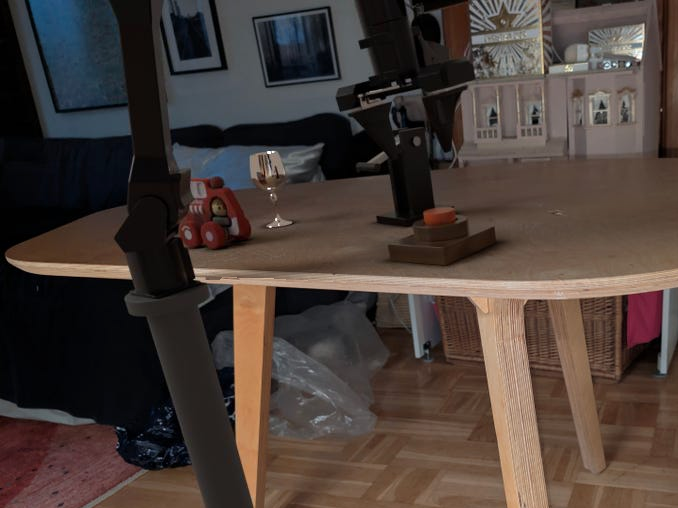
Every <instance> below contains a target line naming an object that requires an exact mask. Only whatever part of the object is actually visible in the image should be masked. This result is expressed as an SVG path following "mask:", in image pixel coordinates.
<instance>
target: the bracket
mask: <svg viewBox="0 0 678 508" xmlns="http://www.w3.org/2000/svg"><path fill="white" fill-rule="evenodd" d="M392 130H393V134H394V137H395V136H396V135H398V134H399V140H400V147H401V153H398V152H397V153H398V159H396V160H394V161H391V160H390V159H389V158H388V159H387V160H386V161H387V167H388V173H389V180H390V188H391V193H392V199H393V200H392V201H393V206H394V210H392V211H387V212H383V213H380V214H377V215H375V218H376V224H383V225H391V226H399V227H406V228H407V227H410V226H413V224H414V223H415V222H416V221H419V220H422V219H424V215H423V212H424V211H426V210H429V209H434V208H441V207H451V208H454V209H455V206H454V205H449V204H436V203H435V197H434V189H433V182H432V174H431V168H430V167H431V166H430V159H429V151H428V143H427V136H426V128H425V126H422V127H421V126H420V127H414V128H410V127H401V128H395V129H392ZM455 210H456V209H455Z"/></svg>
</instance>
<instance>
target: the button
mask: <svg viewBox="0 0 678 508" xmlns="http://www.w3.org/2000/svg"><path fill="white" fill-rule="evenodd" d="M454 208H455V207H454ZM454 208H451V207H441V208H434V209H429V210H426V211H424V212H423V215H424V222H425V225H442V224H447V223H452V222H455V221H456V216H455V215H456V209H454Z"/></svg>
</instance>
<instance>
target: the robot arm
mask: <svg viewBox="0 0 678 508" xmlns="http://www.w3.org/2000/svg"><path fill="white" fill-rule="evenodd" d="M107 1H108V3H109V5H110V8H111V10H112V13H113V15H114V18H115V20H116V24H117V28H118V29H117V30H118V39H119V46H120V54H121V55H120V56H121V62H122V72H123V78H124V87H125V94H126V104H127V111H128V119H129V127H130V135H131V142H132V144H131V145H132V152H133V154H132V162H131V166H130V171H129V175H128V181H127V182H128V183H127V198H126V212H127V217H126V219H124V221H123V223H122V224H121V226H120V227H119V228H118V230H117V231H116V234H115V235H114V236H113V240H114V242H116V244H117V245H118V247H119V248H120V249H121V251H122V252H123V254H124V258H125V261H126V264H127V267H128V270H129V274H130V277H131V280H132V283H133V286H134V289H132V290H129V293H130V295H133V296H139V297H145V298H151V299H160V298H163V297H166V296H169V295H172V294H175V293H178V292H181V291H184V290H187V289H190V288H193V287H196V286H199V285H201V282H202V281H201V280H199V279H198V280H197V279H196V273H195V270H194V266H193V262H192V258H191V254H190V251H189V249H188V248H187V247H186V246H185V243H184V242H183V240H182V238H181V236H179V237H178V236H177V235H178V234H180V225H181V224H180V223H181V222H182V221H183V219H185V218H186V215H187V213H188V210H189V204H190V203H192V202H193V201H194V200H195V199H194V197H193V195H192V193H191V188H190V180H191V178H192V169H191V168H190V167H186V168H185V167H184V168H180V167H179V165H178V163H177V160H176V158H175V155H174V152H173V146H172V138H171V127H170V126H171V125H170V117H169V109H168V99H167V98H168V97H167V90H166V79H165V72H164V71H165V70H164V69H165V68H164V61H163V52H162V42H161V32H160V24H161V23H160V22H161V18H162V13H163V8H164V3H165V0H107ZM353 1H354V4H355V8H356V12H357V15H358V19H359V23H360V26H361V30H362V33H363V37H364V38H361V39H359V40H357V42H358V46H359V49H360V50H361V51H362V50H366V49H367V52H368V55H369V59H370V62H371V66H372V69H373V73H374V75H370V76H368V77H367V79H368V80H364V81H360V82H356V83H353V84H349V85H345V86H342V87H337V90H336V94H335V101H336V105H337V107H338V111H339V113H341V112H347V111H350V112H348V113H346V114H347V117H348V118H352V119H353V120H355V121H356V122H357V123H358V124H359V126H360V127H361V128H362V129H363V130H364V131H365V132H366V133H367V134H368V135H369V136H370V137H371V139H372V140H373V141H374V142H375V143H376V144H377V145H378V147H379V149H381V150H382V152H383V151H384V153H385V154H386V155H387V156H388V157H389V159H390V160H391V161H394V160H396V159H398V153H397V147H396V143H395V138H394V134H393V130H394V129H393V126H392V123H391V118H390V114H391V109H392V105H393V101H386V102H382V101H385V100H386V99H387V97H391V96H394V95H395V96H396V95H399V94H403V93H408V92H413V91H416V90H423V91H424V92H425V93H431V94H429V95H426V96H423V97H421V98H420V99H421V101H422V104H423V106H424V109H425V112H426V114H427V117H428V119H429V121H430V124H431V127H432V129H433V131H434V135H435V136H436V139H437V141H438V144H439V146H440V148H441V149H442V151H443V153H444V154H448V153H450V152H451V151H452V149H453V139H454V138H453V137H454V125H455V115H456V109H457V104H458V101H459V100H460V98H461V96H462V94H463V93H464V91H467V90H468V89H469V84H465V83H468V82H473V81H474V80H477V77H476V73H475V68H474V65H473V63H472V62H471V61H470V60H469V58H468V57H467V56H465V55H464V56H460V57H455V58H452V59H451V47H449V46H446V45H444V44H441V43H438V42H435V41H432V40H425V39H424V37H423V34H422V31H421V29H420V27H419V25H413V26H412V24H411V21H410V16H409V12H408V9H407V5H406V0H353ZM469 1H470V0H408V2H409V5H410V6H411V8H419V10H420V12H421V14H422V15H425V14H430V13H433V12H436V11H441V10H445V9H449V8H452V7H456V6H461V5H464V4H468V3H469ZM407 80H410V81H407ZM392 83H395V85H392Z"/></svg>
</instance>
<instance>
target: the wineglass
mask: <svg viewBox="0 0 678 508" xmlns="http://www.w3.org/2000/svg"><path fill="white" fill-rule="evenodd" d="M249 174H250V178H251V181H252V183H253V185H254V186H255V187H256V188H257V189H258V190H260V191H262V192H265V193H266V192H267V193H270V200H271V202H272V204H273V208H274V212H275V220H273V221H272V222H270V223H268V224H266V226H265V227H266V228H279V227H285V226H289V225H291V224H292V223H293V221H292V220H285V219H283V218H281V216H280V214H279V209H278V196H277V195H276V192H277V191H279V190H280V189H281V188H283V187H284V186H285V184H286V181H287V170H286V167H285V164H284V161H283V159H282V157H281V155H280V153H279V151H278V150H271V151H263V152H256V153H251V154H249Z"/></svg>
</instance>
